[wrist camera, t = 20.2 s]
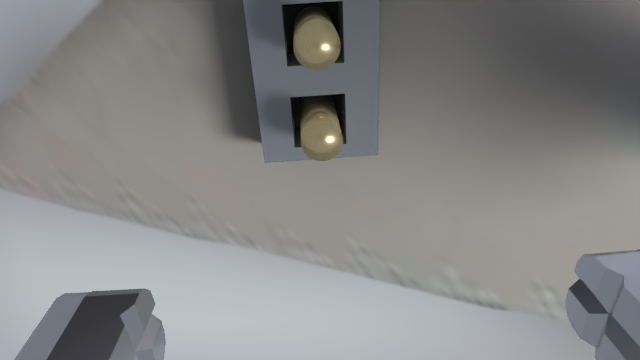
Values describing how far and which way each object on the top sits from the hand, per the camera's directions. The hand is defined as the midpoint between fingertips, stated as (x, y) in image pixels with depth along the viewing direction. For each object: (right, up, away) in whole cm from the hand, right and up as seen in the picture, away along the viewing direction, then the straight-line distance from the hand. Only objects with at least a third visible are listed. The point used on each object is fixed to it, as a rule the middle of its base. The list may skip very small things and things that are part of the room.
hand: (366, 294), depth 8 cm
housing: (-1, +12, +29) cm, 31 cm away
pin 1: (-1, +15, +27) cm, 31 cm away
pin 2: (-1, +9, +31) cm, 32 cm away
